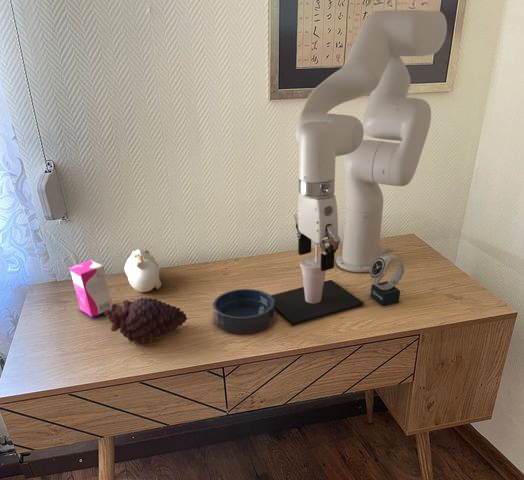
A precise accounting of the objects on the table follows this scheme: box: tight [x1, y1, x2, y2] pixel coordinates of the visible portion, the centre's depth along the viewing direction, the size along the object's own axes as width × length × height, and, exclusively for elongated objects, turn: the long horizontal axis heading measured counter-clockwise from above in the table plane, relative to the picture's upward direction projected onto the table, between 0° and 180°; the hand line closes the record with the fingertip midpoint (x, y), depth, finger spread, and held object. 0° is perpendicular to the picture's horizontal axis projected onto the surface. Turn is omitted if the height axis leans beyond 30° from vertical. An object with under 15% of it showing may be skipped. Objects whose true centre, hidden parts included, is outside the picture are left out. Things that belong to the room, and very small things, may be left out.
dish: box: [212, 288, 276, 335], centre depth 118 cm, size 14×14×4 cm
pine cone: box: [104, 296, 188, 345], centre depth 112 cm, size 18×10×10 cm
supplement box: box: [69, 259, 113, 319], centre depth 122 cm, size 6×6×12 cm
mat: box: [270, 279, 364, 327], centre depth 125 cm, size 19×14×1 cm
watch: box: [368, 253, 405, 307], centre depth 122 cm, size 6×8×11 cm
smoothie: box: [299, 243, 327, 304], centre depth 121 cm, size 6×6×14 cm
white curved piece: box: [124, 248, 162, 293], centre depth 133 cm, size 10×8×15 cm
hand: (315, 261), depth 120 cm, fingers open, 9 cm apart
